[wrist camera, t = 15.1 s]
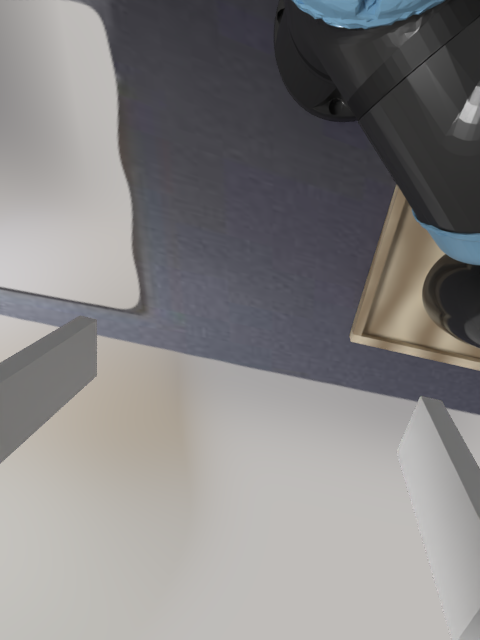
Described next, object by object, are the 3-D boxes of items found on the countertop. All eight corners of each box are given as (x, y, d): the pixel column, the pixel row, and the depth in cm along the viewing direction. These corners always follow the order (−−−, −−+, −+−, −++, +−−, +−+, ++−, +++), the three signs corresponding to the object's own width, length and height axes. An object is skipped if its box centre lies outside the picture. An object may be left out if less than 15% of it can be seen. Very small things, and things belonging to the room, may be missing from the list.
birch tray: (349, 335, 47) (350, 341, 45) (400, 171, 39) (404, 170, 38) (511, 371, 45) (519, 379, 43) (599, 205, 37) (614, 206, 35)
